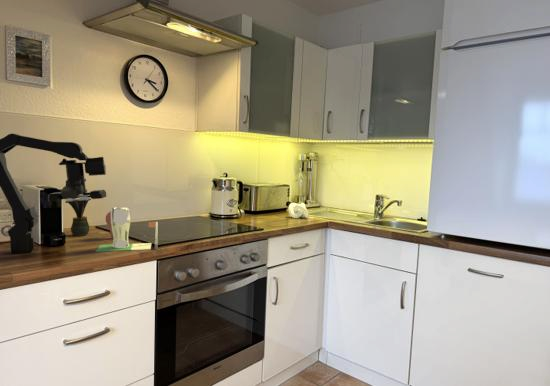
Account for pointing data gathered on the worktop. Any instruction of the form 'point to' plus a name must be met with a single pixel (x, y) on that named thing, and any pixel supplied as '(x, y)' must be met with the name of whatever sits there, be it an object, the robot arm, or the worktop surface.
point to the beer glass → (120, 226)
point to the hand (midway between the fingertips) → (80, 218)
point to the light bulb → (109, 222)
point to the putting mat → (133, 246)
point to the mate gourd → (80, 226)
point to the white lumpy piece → (297, 210)
